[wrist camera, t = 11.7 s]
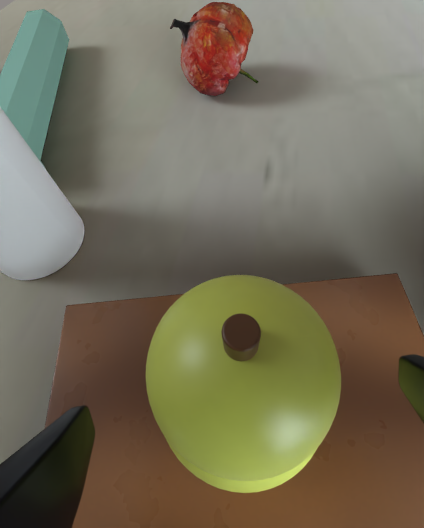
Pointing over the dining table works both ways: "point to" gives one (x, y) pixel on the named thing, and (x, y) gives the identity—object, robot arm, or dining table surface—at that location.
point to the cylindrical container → (32, 212)
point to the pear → (243, 382)
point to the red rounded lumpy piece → (214, 46)
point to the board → (290, 492)
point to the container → (33, 76)
